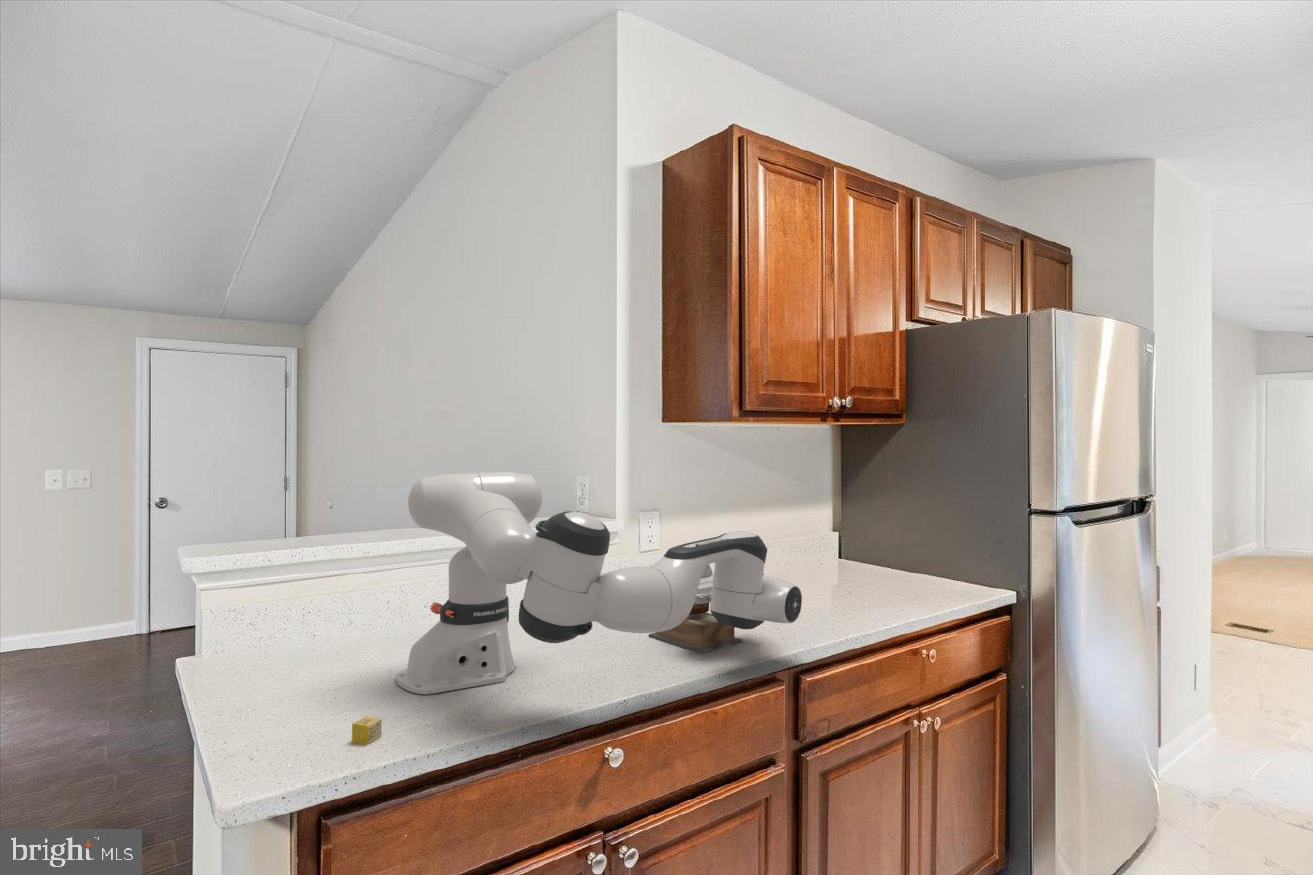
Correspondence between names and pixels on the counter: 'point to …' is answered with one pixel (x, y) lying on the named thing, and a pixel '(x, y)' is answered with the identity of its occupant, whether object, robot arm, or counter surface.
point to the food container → (704, 607)
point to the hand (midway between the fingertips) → (692, 581)
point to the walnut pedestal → (699, 634)
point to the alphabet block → (366, 730)
